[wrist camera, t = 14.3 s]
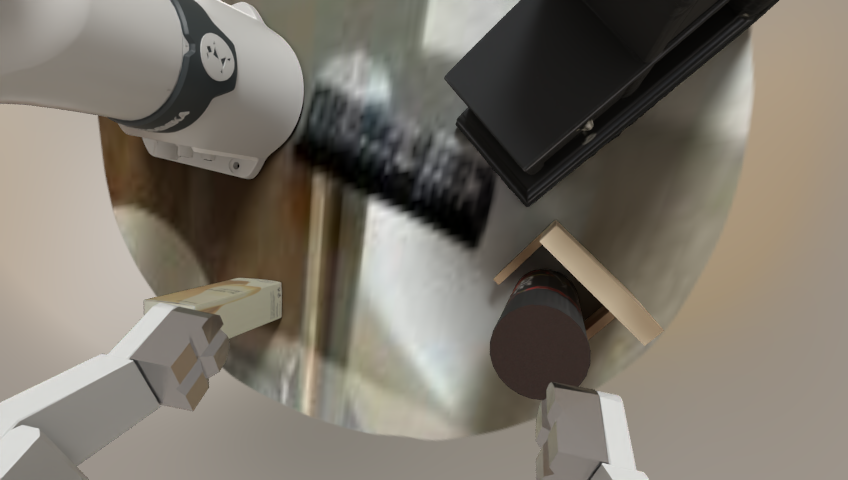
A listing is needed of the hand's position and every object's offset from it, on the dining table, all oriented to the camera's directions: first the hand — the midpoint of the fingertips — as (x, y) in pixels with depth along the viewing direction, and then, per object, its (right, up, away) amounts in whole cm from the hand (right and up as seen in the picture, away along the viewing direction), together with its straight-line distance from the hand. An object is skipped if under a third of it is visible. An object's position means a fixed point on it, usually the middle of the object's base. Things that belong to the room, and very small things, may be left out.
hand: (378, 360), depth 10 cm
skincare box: (-18, -4, +39) cm, 43 cm away
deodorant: (+13, -3, +30) cm, 33 cm away
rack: (+14, -1, +29) cm, 32 cm away
